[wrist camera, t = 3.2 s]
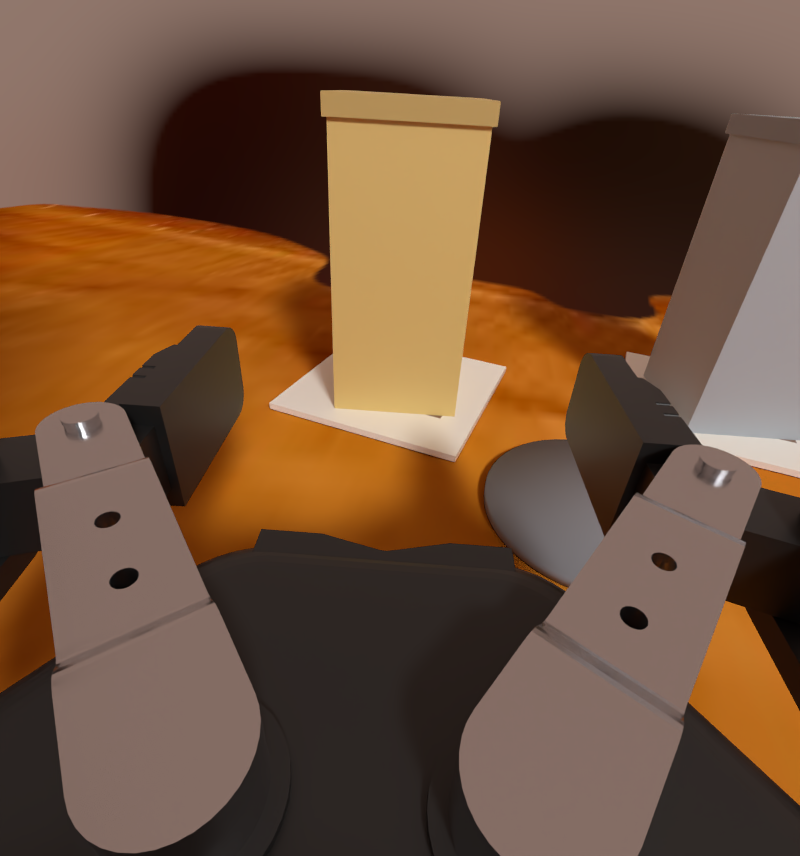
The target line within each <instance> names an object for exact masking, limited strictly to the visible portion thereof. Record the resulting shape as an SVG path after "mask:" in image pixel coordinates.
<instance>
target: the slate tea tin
mask: <svg viewBox="0 0 800 856" xmlns="http://www.w3.org/2000/svg"><path fill="white" fill-rule="evenodd" d="M725 133H728V134H730V136H729V139H728V141H727V144H726V147H725V150H724V152H723V155H722V158H721V161H720V164H719V166H718V169H717V172H716V175H715V177H714V180H713V183H712V186H711V189H710V192H709V194H708V197H707V200H706V202H705V205H704V208H703V211H702V214H701V216H700V219H699V222H698V225H697V228H696V230H695V233H694V236H693V239H692V242H691V244H690V247H689V250H688V253H687V255H686V258H685V261H684V264H683V266H682V269H681V272H680V275H679V278H678V281H677V283H676V286H675V289H674V292H673V294H672V297H671V300H670V303H669V305H668V308H667V311H666V314H665V317H664V319H663V322H662V325H661V328H660V331H659V333H658V336H657V339H656V342H655V344H654V347H653V350H652V353H651V356H650V358H649V361H648V364H647V367H646V370H645V372H644V375H643V376H644V377H645V378H646V380H647V381H648V382H649V383H651V384H652V385H654V386H655V387H657V388H658V389H660V390H661V391H662V392H663V394H664V395H665V396H666V398H667V399H668V400H669V402H670V403H671V406H673V407H674V408H675V410H676V411H677V412H678V414H679V417H681V418H682V419H683V420H684V421H685V423H686V424H687V425H688V427H689V428H690V429H691V431H692V432H693V433H701V434H715V435H729V436H744V437H758V438H772V439H786V440H800V118H799V117H781V116H766V115H749V114H731V117H730V120H729V123H728V126H727V128H726V132H725Z"/></svg>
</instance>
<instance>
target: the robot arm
mask: <svg viewBox="0 0 800 856" xmlns="http://www.w3.org/2000/svg"><path fill="white" fill-rule="evenodd" d="M142 366H143V367H142V368H139V369H138V370H137V371H136V372H135V373H134V374H133V377H130V378H129V379H128V380H127V381H126V382H124V383H123V384H122V385H121V386H120V387H119V388H118V389H117V390H116V391H115V392H114V393H113V394H112V395H111V396H110V397H109V398H108V399H107V400H106V401H105V402H90V403H82V404H77V405H73V406H70V407H67V408H64V409H61V410H59V411H56V412H54V413H53V414H51V415H49V416H48V417H46V418H45V419H43V420H42V421H41V422H40V423H39V425H38V426H37V428H36V430H35V435H29V436H19V437H10V438H1V439H0V601H1V600H2V598H3V597H4V596H5V594H6V593H7V592H8V590H9V589H10V588H11V587H12V585H13V584H14V583H15V581H16V580H17V579H18V577H19V576H20V575H21V574H22V572H23V571H24V570H25V568H26V567H27V566H28V564H29V563H30V562H31V561H32V559H33V558H34V557H35V555H36V554H37V552H38V551H42V555H43V563H44V571H45V578H46V586H47V593H48V601H49V608H50V616H51V623H52V631H53V639H54V646H55V654H56V657H54V658H53V659H51V660H50V661H48V662H47V663H45V664H44V665H42V666H41V667H39V668H38V669H36V670H35V671H33V672H32V673H30V674H29V675H27V676H25V677H24V678H22V679H21V680H19V681H18V682H16V683H15V684H13V685H12V686H10V687H9V688H7V689H6V690H4V691H3V692H1V693H0V856H800V806H799V805H798V804H797V803H796V802H795V801H794V800H793V799H792V798H791V797H790V796H789V795H788V794H787V793H785V792H784V791H783V790H782V789H781V788H780V787H779V786H778V785H777V784H776V783H775V782H774V781H772V780H771V779H770V778H769V777H768V776H767V775H766V774H765V773H764V772H763V771H762V770H761V769H760V768H758V767H757V766H756V765H755V764H754V763H753V762H752V761H751V760H750V759H749V758H748V757H747V756H746V755H744V754H743V753H742V752H741V751H740V750H739V749H738V748H737V747H736V746H735V745H734V744H733V743H731V742H730V741H729V740H728V739H727V738H726V737H725V736H724V735H723V734H722V733H721V732H720V731H719V730H717V729H716V728H715V727H714V726H713V725H712V724H711V723H710V722H709V721H708V720H707V719H706V718H704V717H703V716H702V715H701V714H700V713H699V712H698V711H697V710H696V709H695V708H694V707H693V706H692V705H690V704H689V703H688V701H689V698H690V695H691V693H692V690H693V687H694V684H695V682H696V679H697V676H698V673H699V671H700V668H701V665H702V663H703V660H704V657H705V654H706V652H707V649H708V646H709V644H710V641H711V638H712V635H713V633H714V630H715V627H716V625H717V622H718V619H719V616H720V614H721V611H722V608H723V605H724V603H725V601H728V602H731V603H734V604H737V605H741V606H744V607H745V608H746V610H747V612H748V614H749V616H750V618H751V620H752V622H753V624H754V626H755V627H756V629H757V631H758V633H759V635H760V637H761V639H762V641H763V643H764V644H765V646H766V648H767V650H768V652H769V654H770V656H771V658H772V659H773V661H774V663H775V665H776V667H777V669H778V671H779V673H780V674H781V676H782V678H783V680H784V682H785V684H786V686H787V688H788V690H789V691H790V693H791V695H792V697H793V699H794V701H795V703H796V705H797V706H798V708H799V710H800V498H799V497H795V496H791V495H787V494H783V493H779V492H775V491H771V490H768V489H764V488H761V479H760V477H759V475H758V473H757V472H756V471H755V470H754V469H753V468H752V467H751V466H750V465H749V464H747V463H746V462H745V461H743V460H741V459H740V458H738V457H736V456H734V455H732V454H730V453H728V452H726V451H723V450H720V449H717V448H713V447H709V446H704V445H702V444H701V443H700V441H699V440H698V439H697V437H696V436H695V435H694V433H693V432H692V431H691V429H690V428H689V427H688V425H687V424H686V423H685V421H684V420H683V419H682V418H681V417H679V414H678V412H677V411H676V410H675V408H674V407H673V406H671V403H670V402H669V400H668V399H667V398H666V396H665V395H664V394H663V392H662V391H661V390H660V389H658V388H657V387H655V386H654V385H652V384H651V383H649V382H648V381H647V380H645V379H644V378H638V377H637V376H636V374H635V373H634V372H633V370H632V369H631V367H630V366H629V365H628V363H627V362H626V360H625V359H624V358H623V356H621V355H610V354H595V353H587V354H585V355H584V357H583V359H582V361H581V364H580V367H579V371H578V374H577V378H576V381H575V385H574V389H573V392H572V396H571V399H570V403H569V407H568V410H567V414H566V422H565V432H566V438H567V441H568V443H569V446H570V448H571V451H572V454H573V456H574V459H575V461H576V464H577V467H578V469H579V472H580V475H581V477H582V480H583V482H584V485H585V488H586V490H587V493H588V495H589V498H590V501H591V503H592V506H593V509H594V511H595V514H596V516H597V519H598V522H599V524H600V527H601V529H602V532H603V535H604V538H603V540H602V541H601V543H600V544H599V545H598V547H597V548H596V550H595V551H594V552H593V554H592V555H591V557H590V558H589V559H588V561H587V562H586V564H585V565H584V567H583V568H582V569H581V571H580V572H579V574H578V575H577V576H576V578H575V579H574V581H573V582H572V583H571V585H570V586H569V588H568V589H567V590H566V591H564V590H563V589H561V588H559V587H558V586H556V585H554V584H553V583H551V582H549V581H547V580H545V579H543V578H541V577H539V576H537V575H534V574H532V573H529V572H527V571H524V570H521V569H518V568H515V565H514V559H513V553H512V548H505V547H492V546H478V545H465V544H452V543H449V544H441V545H433V546H425V547H417V548H409V549H401V550H393V551H382V550H378V549H374V548H371V547H367V546H364V545H360V544H357V543H353V542H350V541H346V540H343V539H339V538H336V537H332V536H329V535H325V534H319V533H306V532H293V531H279V530H266V529H261V532H260V534H259V537H258V539H257V542H256V544H255V547H254V548H250V549H244V550H240V551H235V552H231V553H228V554H225V555H221V556H218V557H215V558H213V559H211V560H208V561H206V562H203V563H201V564H199V565H197V566H196V564H195V562H194V560H193V558H192V555H191V553H190V551H189V548H188V546H187V544H186V541H185V539H184V537H183V534H182V532H181V530H180V528H179V525H178V523H177V521H176V518H175V516H174V514H173V511H172V509H171V507H170V505H173V506H186V504H187V502H188V501H189V499H190V497H191V496H192V494H193V492H194V491H195V489H196V487H197V486H198V484H199V482H200V480H201V479H202V477H203V475H204V474H205V472H206V470H207V469H208V467H209V465H210V464H211V462H212V460H213V459H214V457H215V455H216V453H217V452H218V450H219V448H220V447H221V445H222V443H223V442H224V440H225V438H226V437H227V435H228V433H229V432H230V430H231V428H232V426H233V425H234V423H235V421H236V420H237V418H238V416H239V415H240V412H241V410H242V405H243V397H244V391H243V382H242V375H241V368H240V361H239V354H238V347H237V340H236V336H235V333H234V331H233V329H232V328H227V327H212V326H196V327H195V328H194V329H193V330H192V331H191V332H190V333H189V334H188V335H187V336H186V337H185V338H184V339H183V340H182V341H181V342H180V343H179V344H178V345H172V346H170V347H168V348H166V349H164V350H162V351H160V352H157V353H155V354H154V355H153V356H152V357H151V358H150V359H149V360H148V361H146V362H145V363H144V364H143V365H142Z"/></svg>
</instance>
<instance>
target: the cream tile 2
mask: <svg viewBox="0 0 800 856" xmlns="http://www.w3.org/2000/svg"><path fill="white" fill-rule="evenodd" d="M649 358H650V356H646V355H641V354H636V353H631V352H626V355H625V360H626V362H627V363H628V365H629V366H630V367H631V369H632V370H633V372H634V373H635V374H636V376H637V377H638V378H644V379H645V380H646V378H645V377H644V376H643V375H644V372H645V370H646V367H647V364H648V361H649ZM694 435H695V436H696V437H697V439H698V440H699V441H700V443H701V444H702V445H704V446H709V447H713V448H717V449H720V450H723V451H726V452H728V453H730V454H732V455H734V456H736V457H738V458H740V459H741V460H743V461H745V462H746V463H747V464H749V465H750V466H754V467H758V468H762V469H766V470H770V471H774V472H778V473H782V474H786V475H790V476H794V477H798V478H800V440H786V439H772V438H758V437H744V436H729V435H715V434H701V433H694Z"/></svg>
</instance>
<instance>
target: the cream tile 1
mask: <svg viewBox="0 0 800 856" xmlns="http://www.w3.org/2000/svg"><path fill="white" fill-rule="evenodd" d="M505 371H506V367H505V366H500V365H496V364H491V363H487V362H482V361H478V360H473V359H469V358H465V357H462V363H461V371H460V378H459V386H458V394H457V401H456V409H455V417H453V416H438V415H424V414H410V413H396V412H382V411H367V410H353V409H339V408H334V373H333V354H332V355H330V356H329V357H328V358H326V359H325V360H324V361H323V362H321V363H320V364H319V365H317V366H316V367H315V368H314V369H312V370H311V371H310V372H308V373H307V374H306V375H305V376H303V377H302V378H301V379H299V380H298V381H297V382H296V383H294V384H293V385H292V386H290V387H289V388H288V389H287V390H285V391H284V392H283V393H281V394H280V395H279V396H278V397H276V398H275V399H274V400H272V401H271V402H270V403H269V404H270V409H273V410H277V411H280V412H284V413H287V414H291V415H294V416H298V417H301V418H304V419H308V420H311V421H315V422H318V423H322V424H325V425H328V426H332V427H335V428H339V429H342V430H346V431H349V432H353V433H356V434H359V435H363V436H366V437H370V438H373V439H377V440H380V441H383V442H387V443H390V444H394V445H397V446H401V447H404V448H408V449H411V450H414V451H418V452H421V453H425V454H428V455H432V456H435V457H438V458H442V459H445V460H449V461H452V462H455V461H456V459H457V458H458V456H459V454H460V452H461V450H462V449H463V447H464V445H465V443H466V441H467V440H468V438H469V436H470V434H471V432H472V431H473V429H474V427H475V425H476V424H477V422H478V420H479V418H480V416H481V415H482V413H483V411H484V409H485V407H486V406H487V404H488V402H489V400H490V398H491V397H492V395H493V393H494V391H495V389H496V388H497V386H498V384H499V382H500V380H501V379H502V377H503V375H504V373H505Z"/></svg>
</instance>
